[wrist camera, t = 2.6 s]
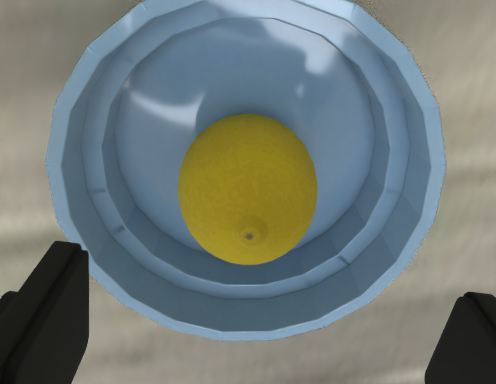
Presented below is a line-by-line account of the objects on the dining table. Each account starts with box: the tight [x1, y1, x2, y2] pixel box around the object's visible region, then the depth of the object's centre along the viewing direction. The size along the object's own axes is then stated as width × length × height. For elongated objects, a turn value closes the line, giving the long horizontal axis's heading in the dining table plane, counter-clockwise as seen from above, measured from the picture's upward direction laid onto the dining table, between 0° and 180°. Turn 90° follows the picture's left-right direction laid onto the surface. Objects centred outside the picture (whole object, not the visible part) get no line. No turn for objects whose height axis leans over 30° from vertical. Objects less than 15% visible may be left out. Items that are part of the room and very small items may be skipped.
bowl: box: [46, 0, 446, 341], centre depth 20 cm, size 15×15×5 cm
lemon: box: [178, 113, 318, 265], centre depth 18 cm, size 6×6×8 cm
